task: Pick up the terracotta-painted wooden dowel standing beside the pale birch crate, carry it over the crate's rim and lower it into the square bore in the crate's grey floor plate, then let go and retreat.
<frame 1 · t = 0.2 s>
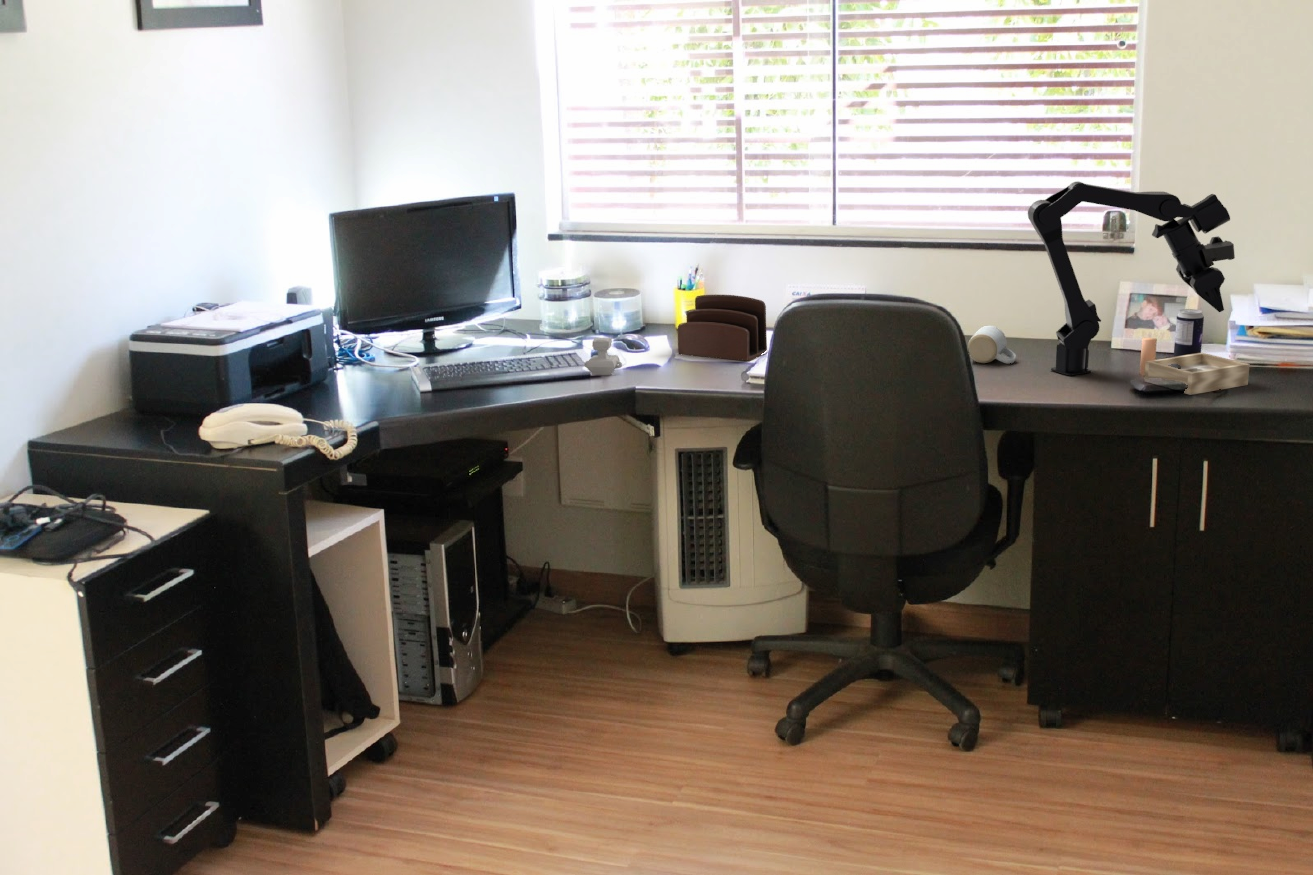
hand: (1216, 306, 287), 14 cm above the table, tool tilted 30°, fingers open, 9 cm apart
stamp: (603, 374, 307), on the table
letter holder: (722, 355, 323), on the table
beverage can: (1186, 364, 299), on the table
ceramic mug: (991, 361, 307), on the table
crate: (1195, 383, 281), on the table
peg: (1146, 374, 290), on the table
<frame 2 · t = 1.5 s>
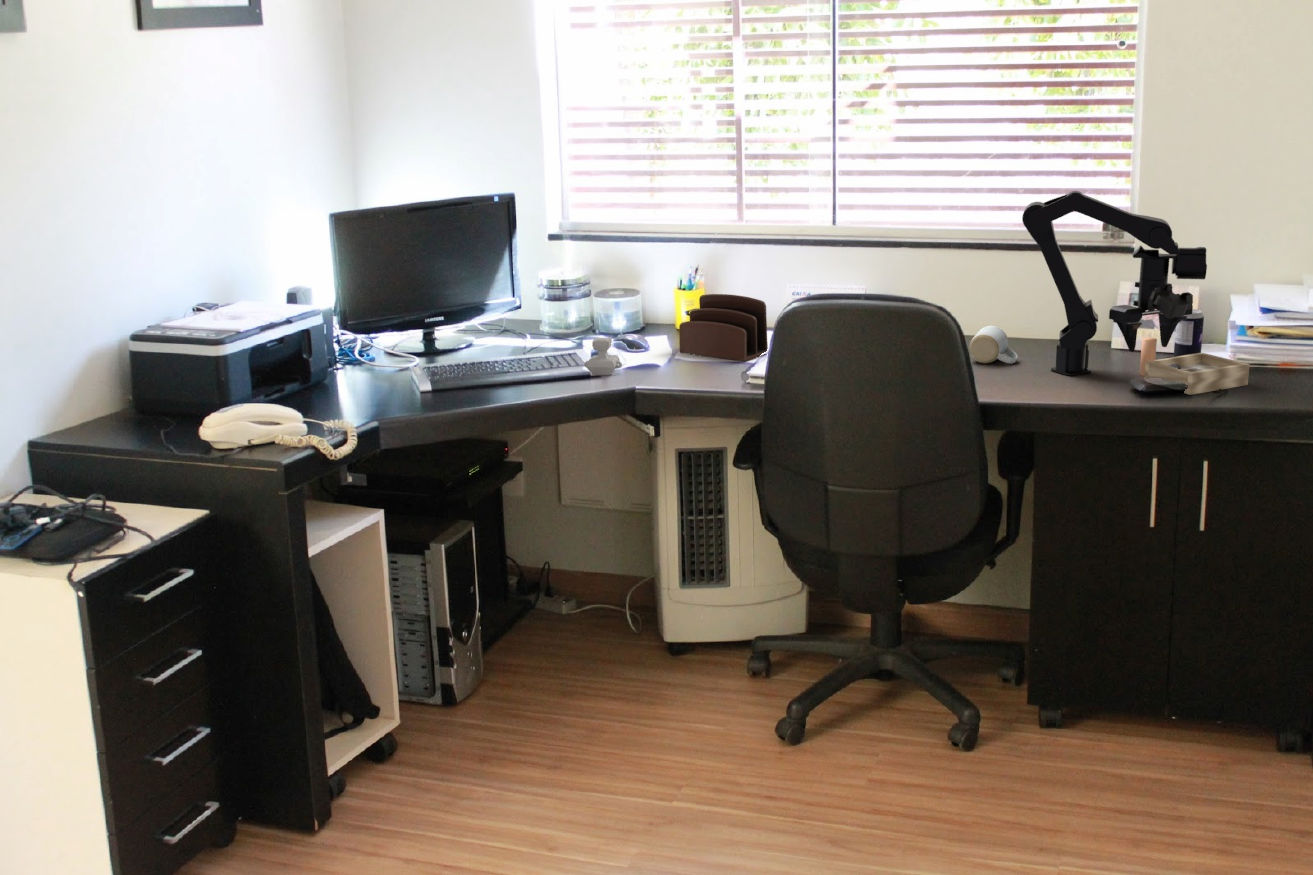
hand: (1148, 349, 288), 6 cm above the table, tool pointing down, fingers open, 9 cm apart
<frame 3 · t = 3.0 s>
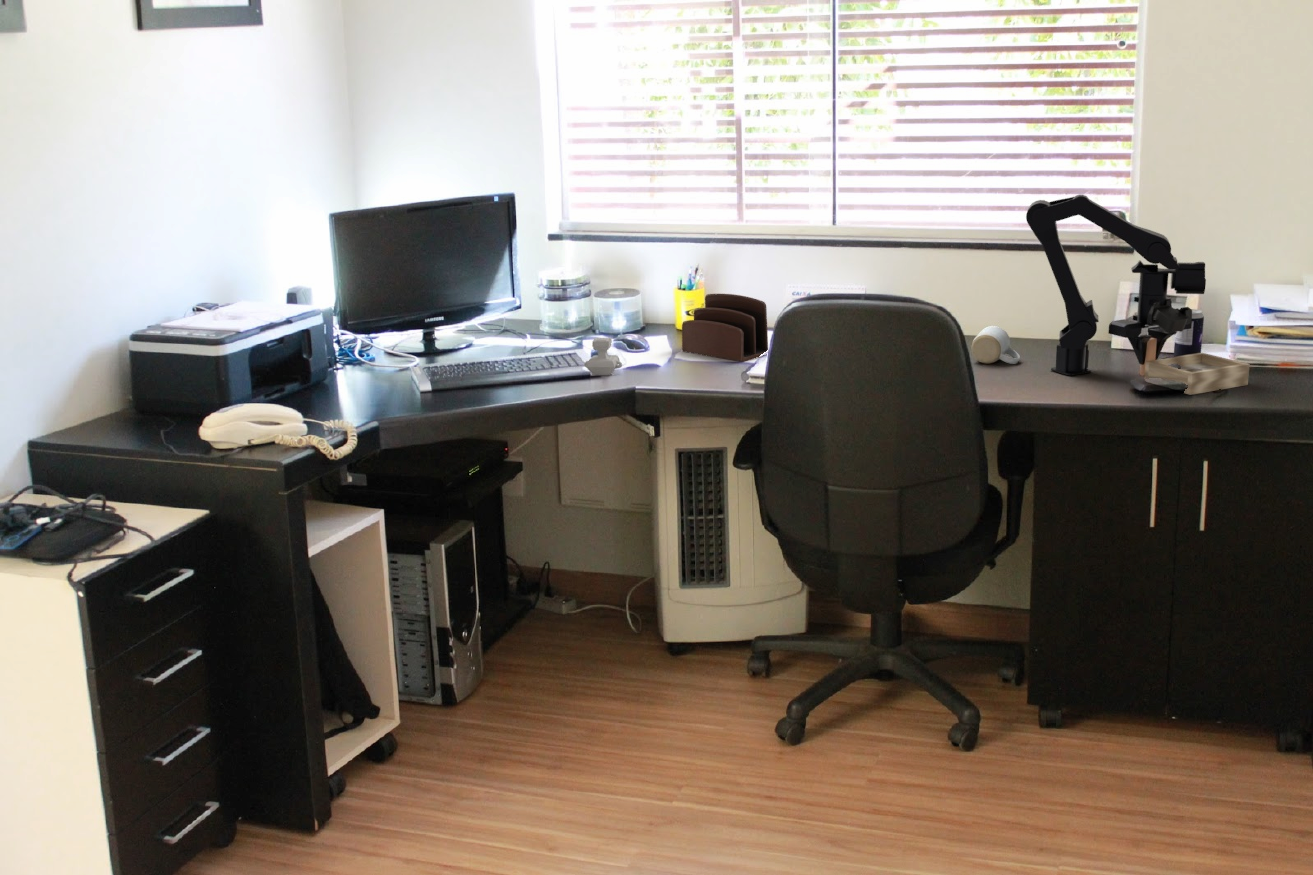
hand: (1147, 363, 289), 3 cm above the table, tool pointing down, fingers closed on peg, 3 cm apart
peg: (1146, 374, 290), on the table, touching gripper
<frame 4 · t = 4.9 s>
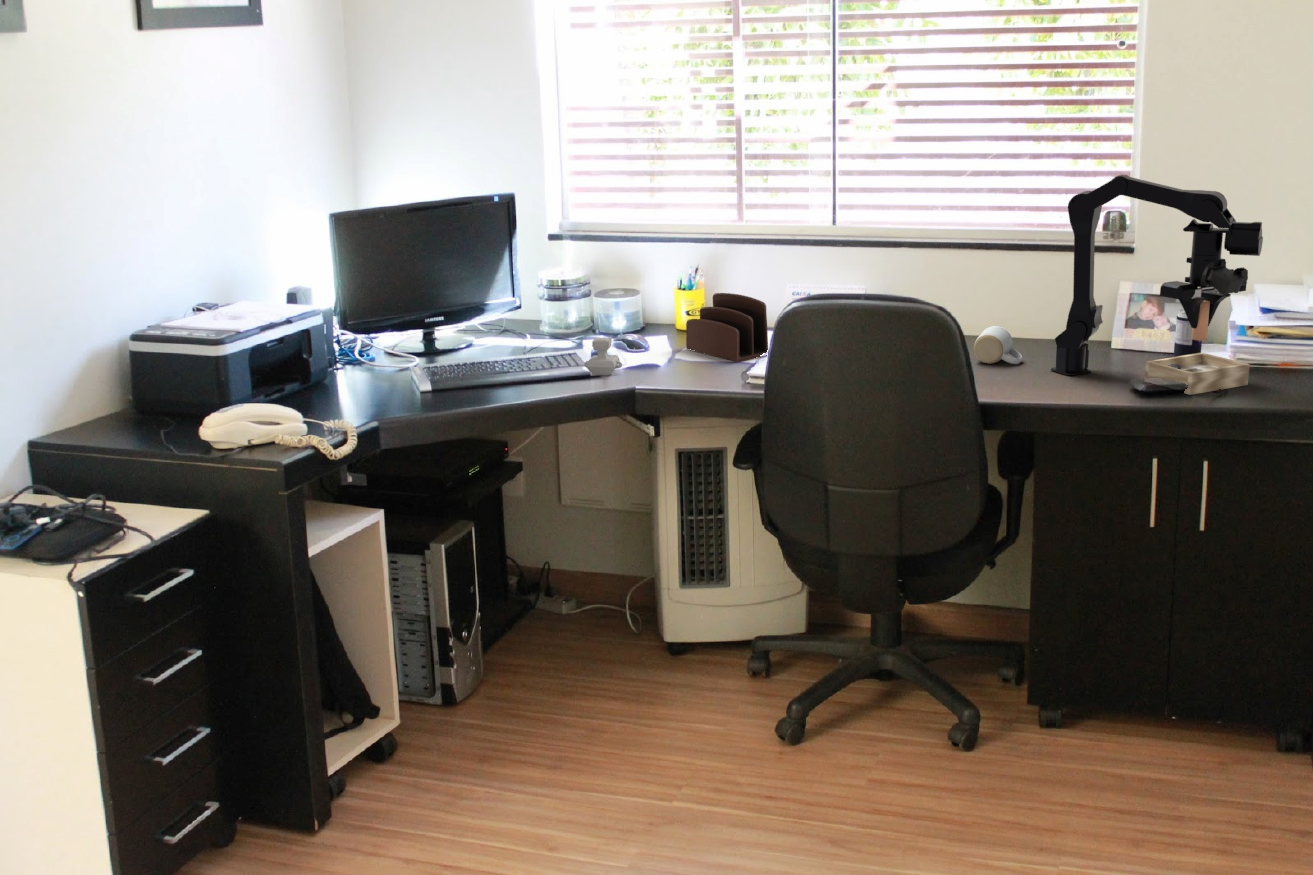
hand: (1200, 327, 278), 12 cm above the table, tool pointing down, fingers closed on peg, 3 cm apart
peg: (1199, 338, 278), point 10 cm above the table, touching gripper
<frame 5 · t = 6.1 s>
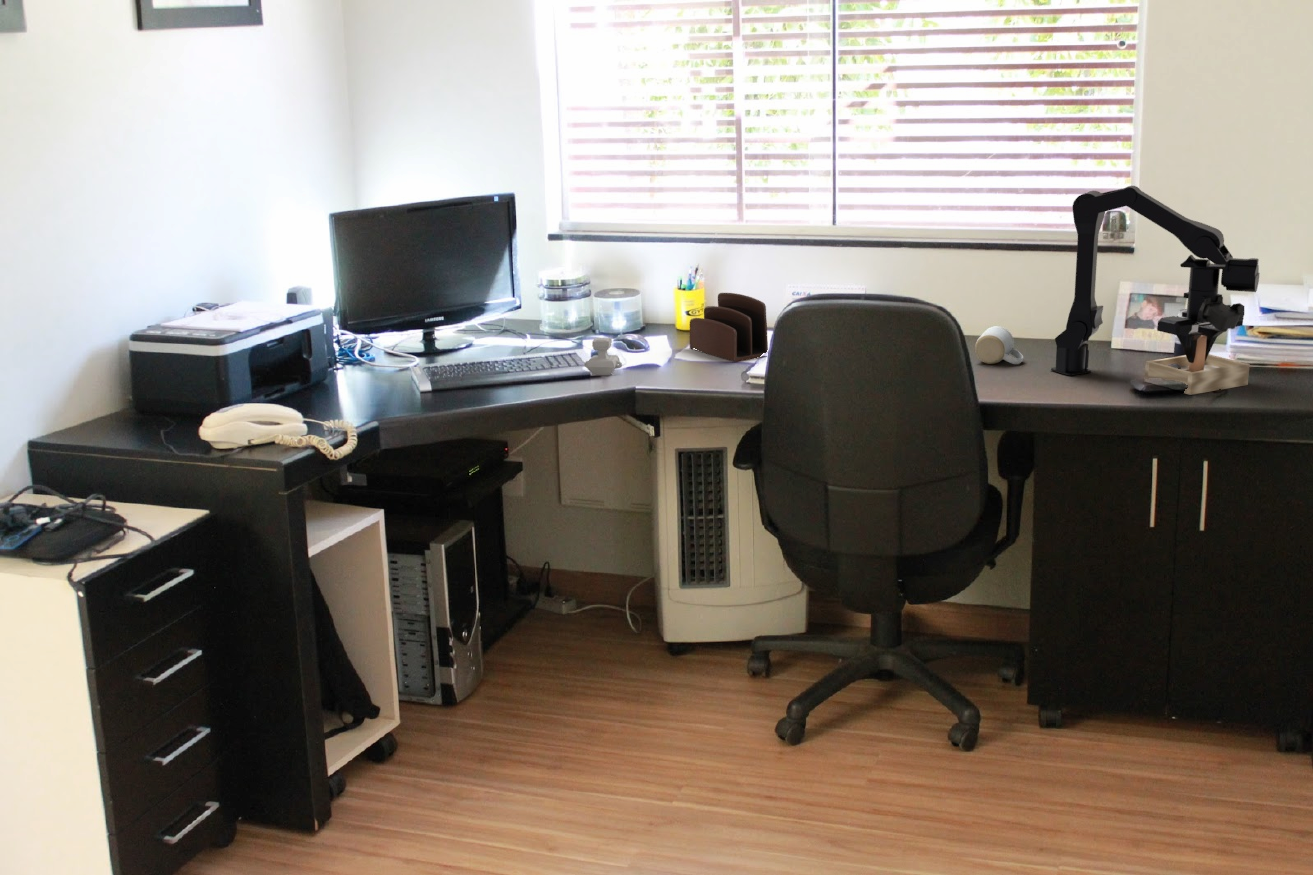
hand: (1197, 361, 280), 5 cm above the table, tool pointing down, fingers closed on peg, 3 cm apart
peg: (1196, 373, 281), point 2 cm above the table, touching gripper
when the fingers open (4 cm above the table, at t = 6.9 s): peg drops 2 cm, resting in crate.
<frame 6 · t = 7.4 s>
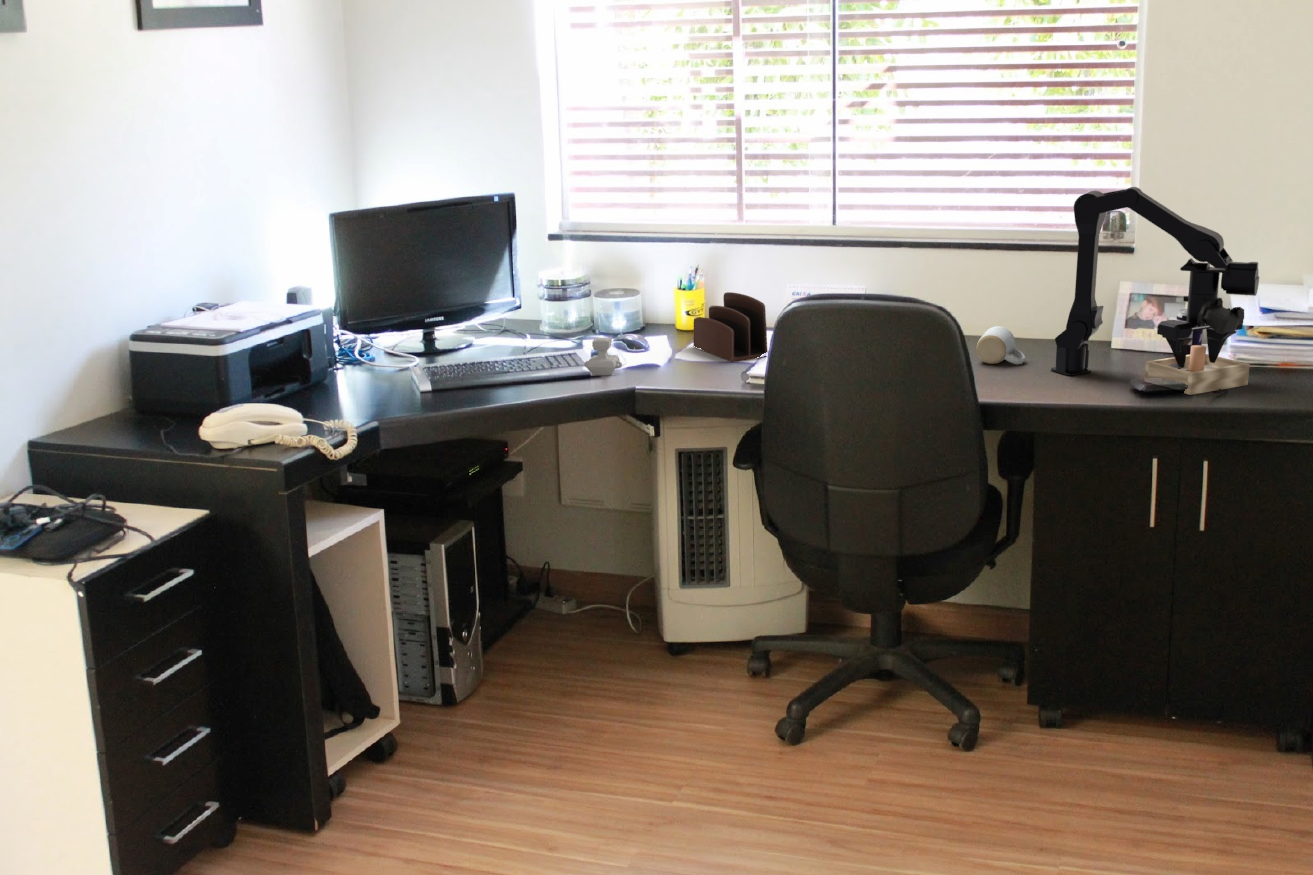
hand: (1196, 365, 280), 4 cm above the table, tool pointing down, fingers open, 8 cm apart
peg: (1195, 383, 281), resting in crate
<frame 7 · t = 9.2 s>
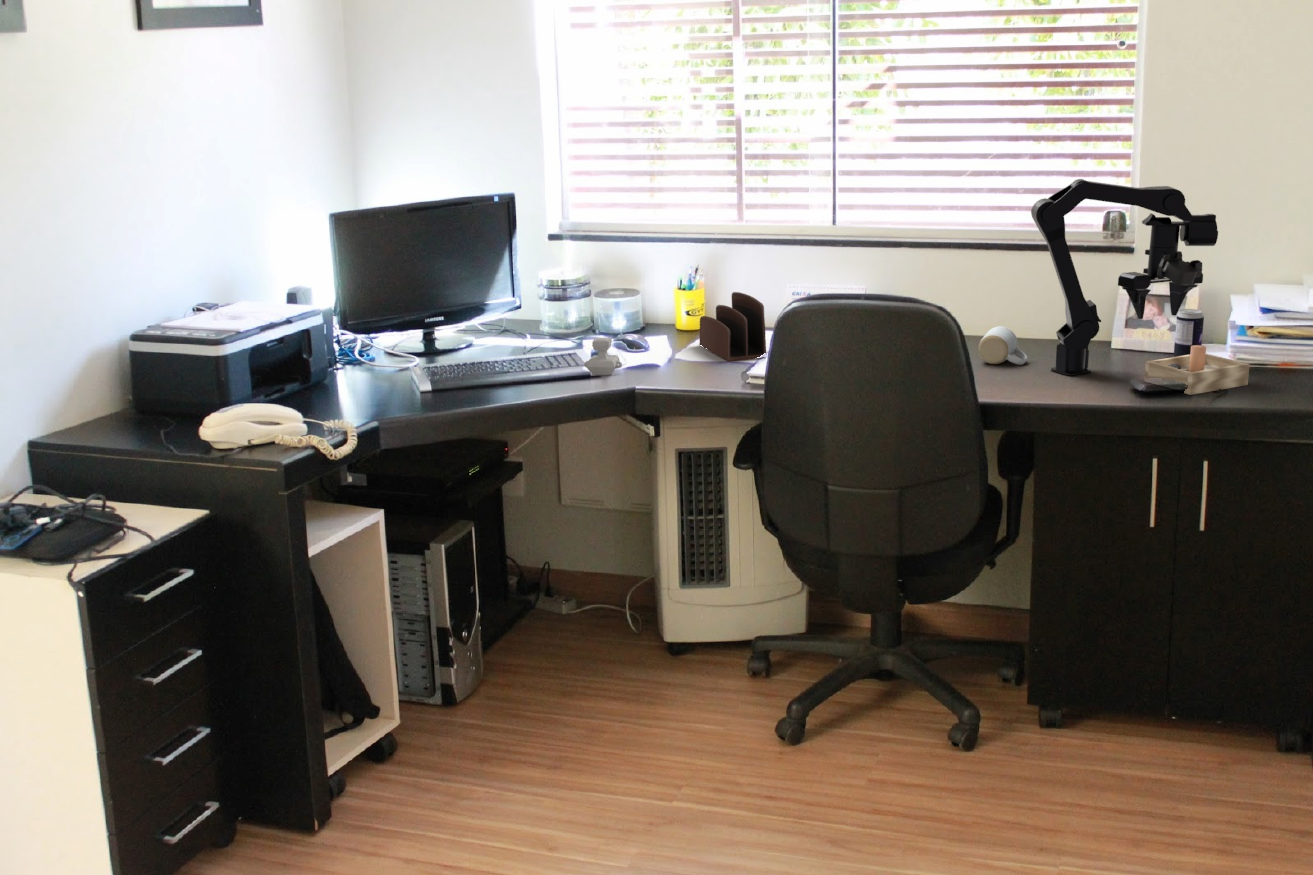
hand: (1157, 317, 289), 12 cm above the table, tool pointing down, fingers open, 9 cm apart
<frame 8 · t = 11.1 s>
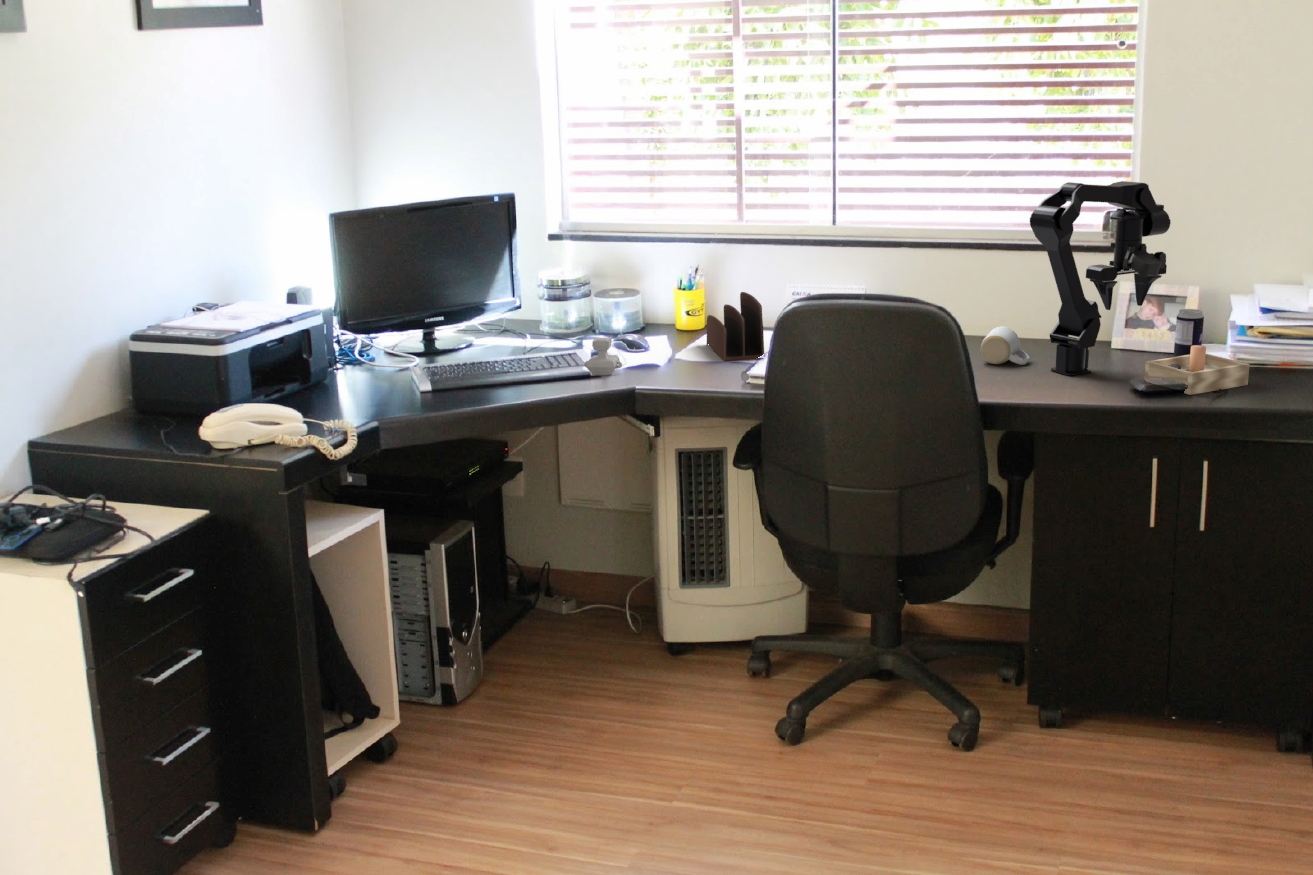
hand: (1123, 307, 299), 12 cm above the table, tool pointing down, fingers open, 9 cm apart
at the end: peg 0.0 cm off-centre on the crate, point 0.0 cm above the crate's base; peg tilted 0°; the gripper is holding nothing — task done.
